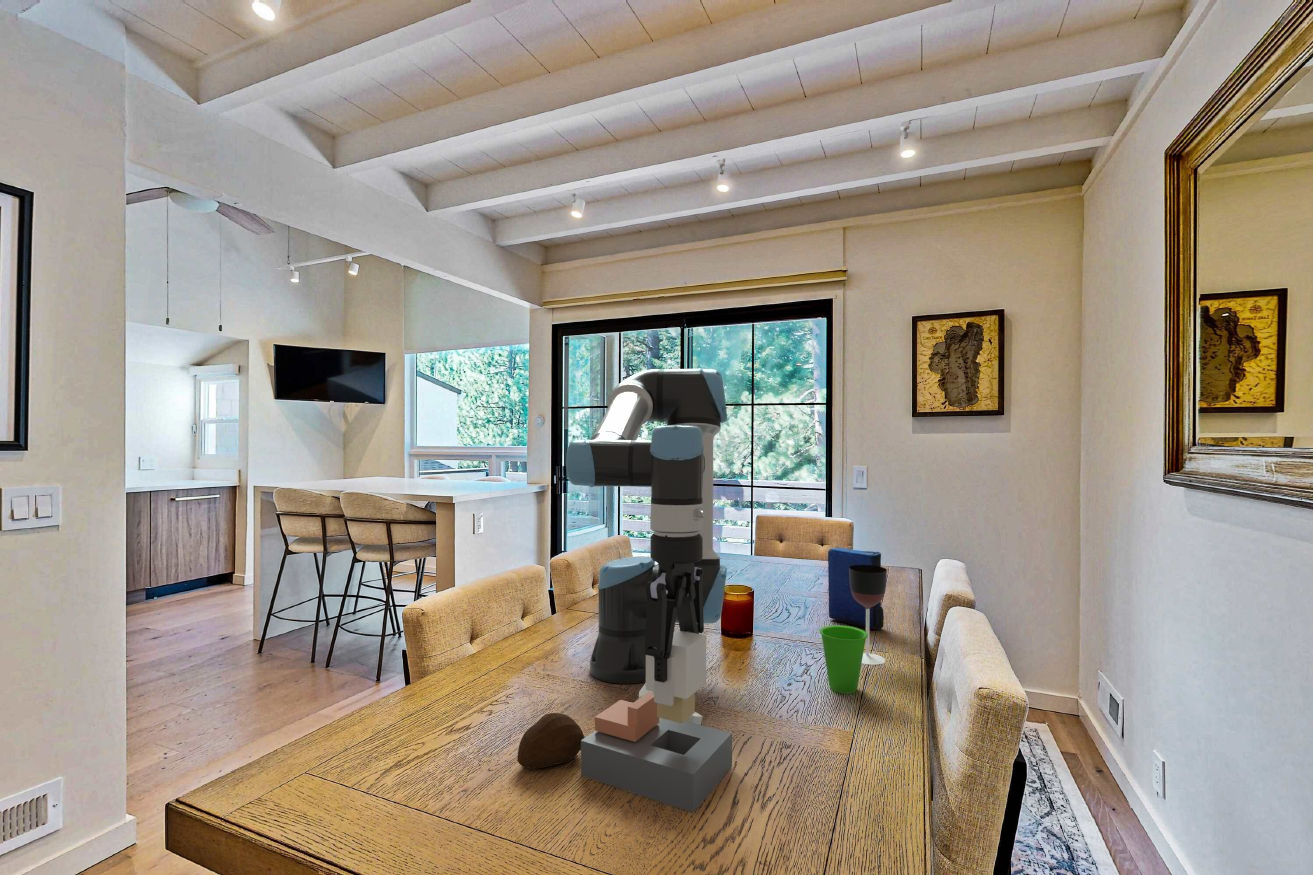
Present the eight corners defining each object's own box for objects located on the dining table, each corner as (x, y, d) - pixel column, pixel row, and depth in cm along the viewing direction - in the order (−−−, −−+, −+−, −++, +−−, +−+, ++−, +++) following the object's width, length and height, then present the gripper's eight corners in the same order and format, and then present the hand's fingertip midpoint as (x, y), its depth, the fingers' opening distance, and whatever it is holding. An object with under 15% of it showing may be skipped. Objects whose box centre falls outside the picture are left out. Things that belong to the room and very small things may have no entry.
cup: (870, 699, 114) (871, 640, 114) (820, 695, 116) (820, 637, 116) (864, 681, 123) (864, 626, 123) (818, 677, 125) (818, 623, 125)
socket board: (580, 775, 88) (580, 740, 88) (628, 737, 99) (628, 706, 99) (693, 813, 79) (693, 774, 79) (731, 766, 91) (732, 732, 91)
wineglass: (847, 662, 134) (847, 570, 134) (850, 649, 142) (850, 563, 142) (886, 667, 131) (886, 573, 131) (887, 654, 139) (887, 566, 139)
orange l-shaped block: (594, 730, 91) (594, 699, 91) (620, 712, 97) (620, 683, 97) (635, 741, 87) (635, 710, 87) (659, 722, 93) (659, 692, 93)
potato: (508, 762, 92) (508, 715, 92) (569, 741, 98) (569, 698, 98) (528, 783, 86) (528, 733, 86) (592, 760, 92) (592, 713, 92)
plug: (686, 728, 83) (686, 647, 83) (645, 718, 86) (645, 639, 87) (705, 711, 89) (706, 635, 89) (667, 702, 92) (667, 628, 92)
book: (886, 628, 158) (886, 551, 158) (875, 633, 155) (875, 553, 155) (836, 616, 169) (836, 544, 169) (826, 620, 165) (826, 546, 165)
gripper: (667, 543, 78) (666, 726, 77) (727, 527, 95) (726, 677, 94) (617, 539, 81) (616, 713, 81) (683, 523, 98) (683, 668, 98)
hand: (675, 693), depth 88 cm, fingers closed on plug, 6 cm apart
